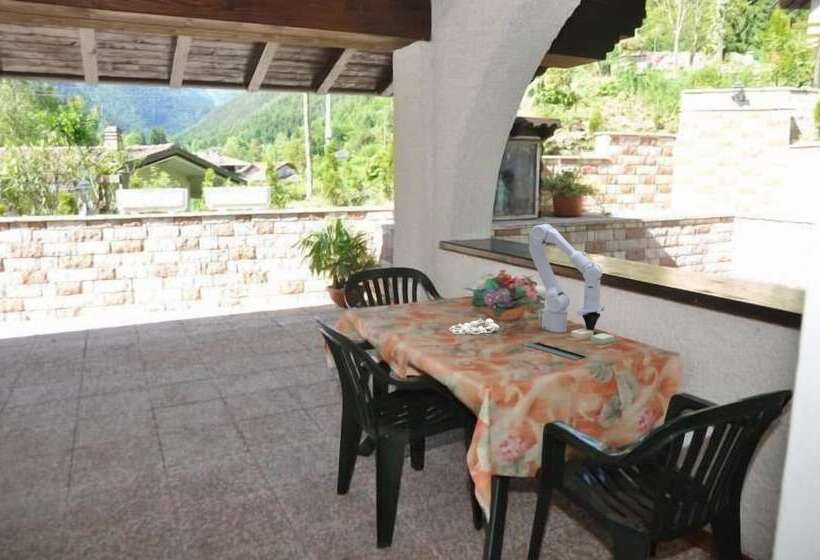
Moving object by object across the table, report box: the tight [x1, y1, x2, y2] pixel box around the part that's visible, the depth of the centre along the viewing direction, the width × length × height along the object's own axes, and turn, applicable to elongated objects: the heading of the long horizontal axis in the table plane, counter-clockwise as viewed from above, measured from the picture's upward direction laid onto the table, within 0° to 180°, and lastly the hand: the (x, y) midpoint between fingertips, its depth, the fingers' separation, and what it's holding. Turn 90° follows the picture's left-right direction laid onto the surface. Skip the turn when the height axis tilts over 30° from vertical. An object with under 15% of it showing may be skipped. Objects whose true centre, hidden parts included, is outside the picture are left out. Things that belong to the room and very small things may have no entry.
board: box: [556, 332, 624, 349], centre depth 222 cm, size 20×14×2 cm
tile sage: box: [591, 332, 615, 344], centre depth 218 cm, size 5×7×2 cm
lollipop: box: [535, 285, 546, 320], centre depth 257 cm, size 6×6×15 cm
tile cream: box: [570, 327, 595, 339], centre depth 225 cm, size 5×7×2 cm
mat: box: [526, 342, 588, 361], centre depth 213 cm, size 22×14×1 cm, turn 36°
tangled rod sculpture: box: [448, 317, 500, 335], centre depth 239 cm, size 19×14×4 cm
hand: (590, 331), depth 228 cm, fingers closed
